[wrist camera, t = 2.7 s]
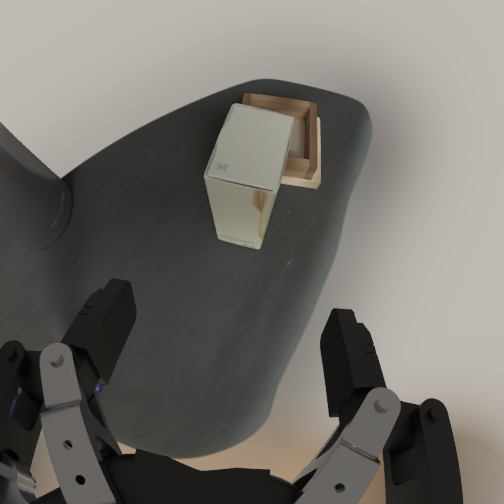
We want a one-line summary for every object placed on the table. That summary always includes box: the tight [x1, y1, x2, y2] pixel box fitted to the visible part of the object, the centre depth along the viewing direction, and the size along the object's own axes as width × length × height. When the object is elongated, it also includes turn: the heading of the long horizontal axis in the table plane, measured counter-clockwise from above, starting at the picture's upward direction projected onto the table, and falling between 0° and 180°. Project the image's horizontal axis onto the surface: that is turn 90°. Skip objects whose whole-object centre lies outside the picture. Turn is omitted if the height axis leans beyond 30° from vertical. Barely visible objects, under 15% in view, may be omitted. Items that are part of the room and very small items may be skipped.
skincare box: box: [204, 103, 294, 249], centre depth 21 cm, size 6×4×12 cm
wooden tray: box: [242, 93, 321, 189], centre depth 27 cm, size 10×9×4 cm
